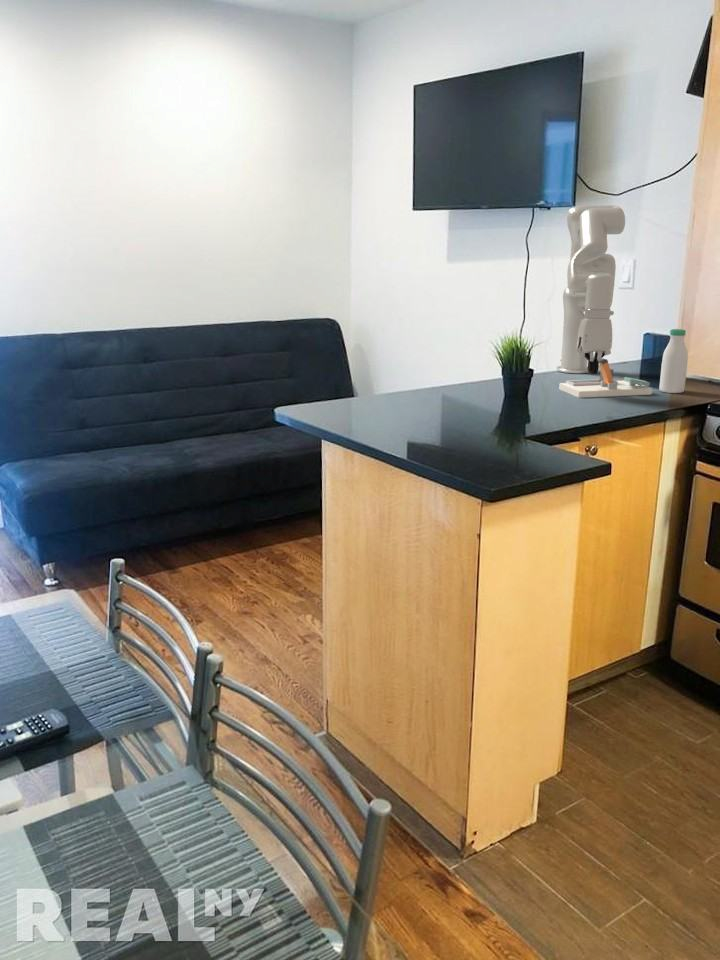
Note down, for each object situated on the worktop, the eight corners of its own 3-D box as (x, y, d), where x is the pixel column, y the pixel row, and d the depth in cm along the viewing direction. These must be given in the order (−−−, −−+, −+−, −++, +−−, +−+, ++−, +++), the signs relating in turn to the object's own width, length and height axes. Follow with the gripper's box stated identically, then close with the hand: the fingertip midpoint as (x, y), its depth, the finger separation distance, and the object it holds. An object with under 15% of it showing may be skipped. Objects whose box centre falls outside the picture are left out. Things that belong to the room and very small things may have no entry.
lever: (604, 384, 263) (597, 360, 260) (608, 382, 263) (602, 358, 260) (609, 386, 260) (603, 361, 257) (614, 384, 260) (608, 359, 257)
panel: (559, 389, 271) (559, 377, 270) (628, 386, 275) (629, 374, 274) (578, 397, 257) (579, 385, 255) (651, 394, 261) (652, 382, 260)
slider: (599, 381, 271) (600, 366, 270) (607, 381, 272) (609, 366, 270) (603, 383, 268) (605, 368, 267) (612, 383, 269) (613, 367, 267)
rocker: (622, 380, 264) (623, 376, 264) (641, 384, 266) (642, 380, 265) (630, 383, 259) (632, 379, 258) (650, 387, 260) (651, 383, 260)
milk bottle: (687, 393, 262) (694, 330, 256) (663, 393, 262) (670, 331, 256) (679, 389, 269) (685, 328, 263) (655, 389, 269) (661, 328, 264)
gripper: (614, 313, 259) (609, 371, 264) (569, 314, 256) (565, 372, 262) (625, 315, 252) (620, 374, 257) (579, 316, 249) (575, 376, 254)
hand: (592, 373), depth 259 cm, fingers closed
